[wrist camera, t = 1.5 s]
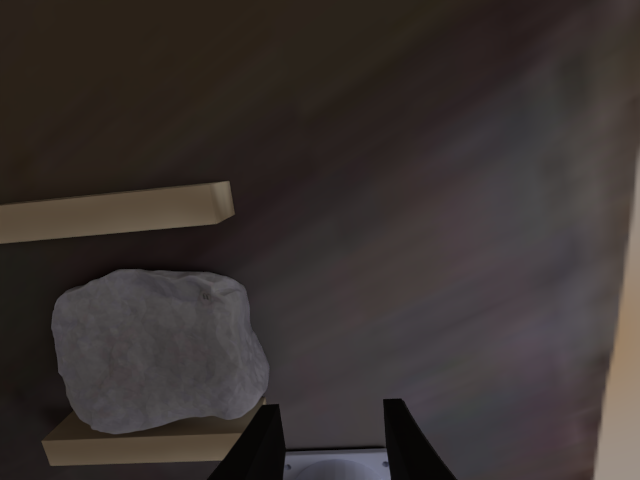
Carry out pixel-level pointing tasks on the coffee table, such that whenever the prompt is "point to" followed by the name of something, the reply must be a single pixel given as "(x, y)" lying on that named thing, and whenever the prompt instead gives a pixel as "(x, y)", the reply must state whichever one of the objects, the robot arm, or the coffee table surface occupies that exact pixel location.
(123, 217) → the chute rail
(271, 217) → the coffee table surface
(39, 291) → the coffee table surface
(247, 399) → the stone block
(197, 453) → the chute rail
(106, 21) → the coffee table surface
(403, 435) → the robot arm
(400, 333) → the coffee table surface
